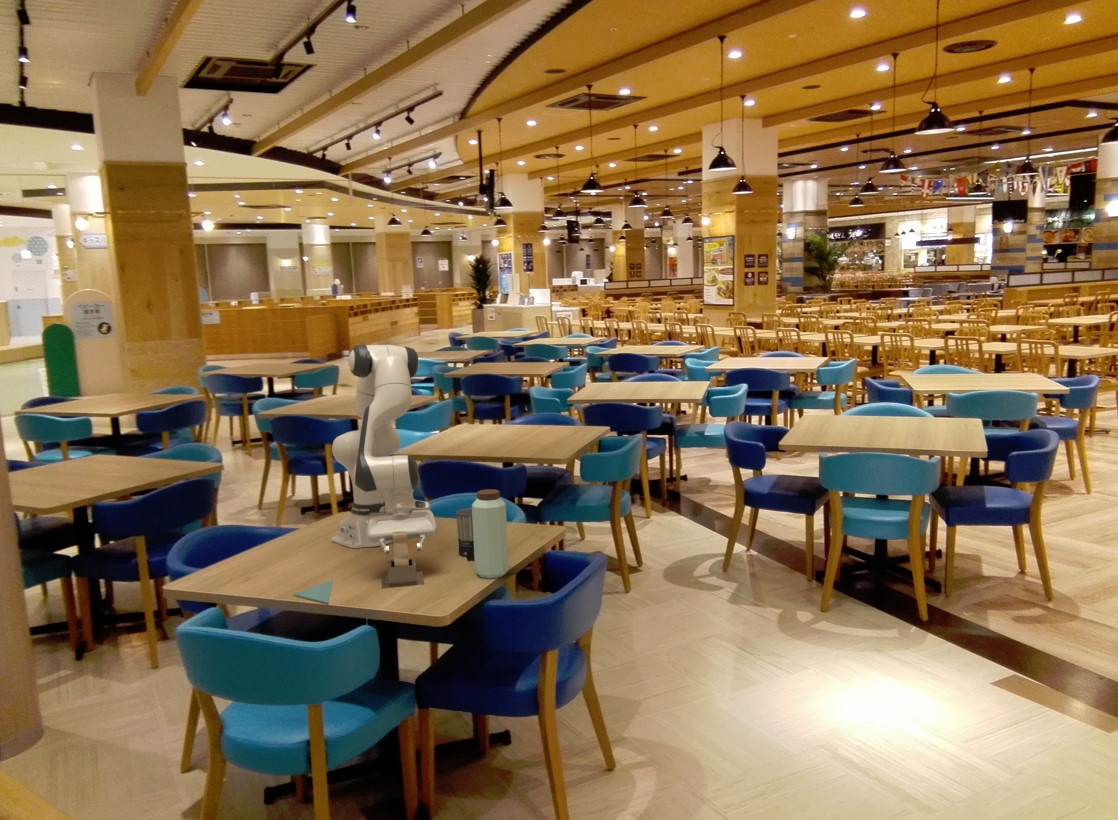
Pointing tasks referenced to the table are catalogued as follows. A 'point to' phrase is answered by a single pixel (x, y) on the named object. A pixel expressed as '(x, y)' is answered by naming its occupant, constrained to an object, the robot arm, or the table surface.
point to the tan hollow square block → (402, 575)
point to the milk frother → (465, 533)
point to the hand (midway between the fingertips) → (403, 551)
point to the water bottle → (490, 534)
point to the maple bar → (400, 548)
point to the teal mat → (317, 592)
